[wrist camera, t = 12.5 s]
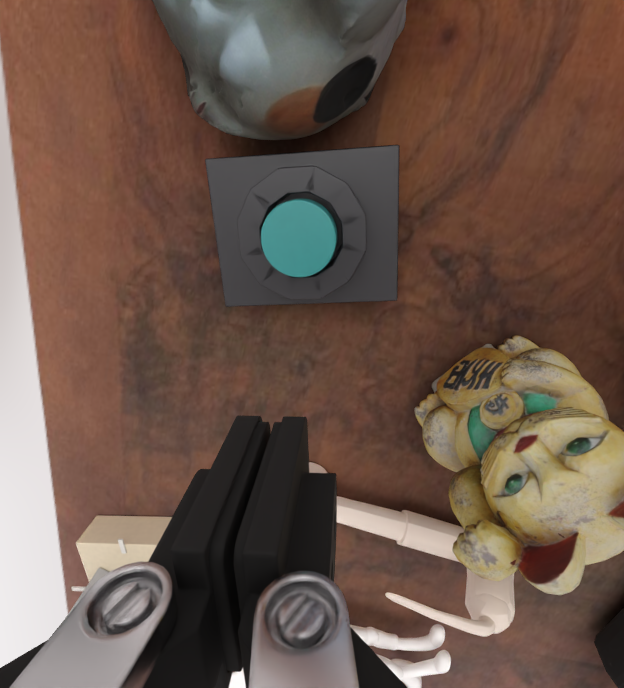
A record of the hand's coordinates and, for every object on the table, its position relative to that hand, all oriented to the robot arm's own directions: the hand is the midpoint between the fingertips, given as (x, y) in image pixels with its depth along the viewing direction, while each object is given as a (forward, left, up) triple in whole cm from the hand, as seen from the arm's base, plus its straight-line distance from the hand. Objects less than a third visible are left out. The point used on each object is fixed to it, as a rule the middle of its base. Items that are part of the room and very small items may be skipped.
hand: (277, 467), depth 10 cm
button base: (-4, -1, -18) cm, 18 cm away
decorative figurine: (+7, +11, -18) cm, 22 cm away
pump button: (-4, -1, -13) cm, 14 cm away
